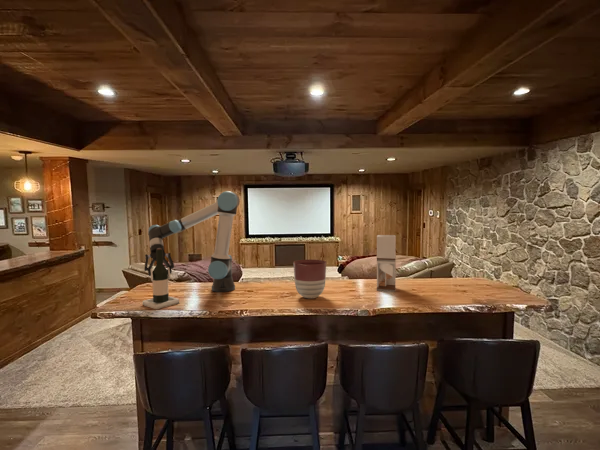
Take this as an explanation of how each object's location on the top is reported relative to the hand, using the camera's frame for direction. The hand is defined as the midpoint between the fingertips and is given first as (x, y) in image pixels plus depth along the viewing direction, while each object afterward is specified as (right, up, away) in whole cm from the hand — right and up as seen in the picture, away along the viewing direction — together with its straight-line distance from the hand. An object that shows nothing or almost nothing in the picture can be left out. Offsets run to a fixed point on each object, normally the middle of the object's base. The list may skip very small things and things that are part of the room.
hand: (161, 278), depth 185 cm
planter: (+83, -14, +15) cm, 86 cm away
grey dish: (-1, -15, +4) cm, 15 cm away
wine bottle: (-1, -13, +4) cm, 14 cm away
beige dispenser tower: (+134, -12, +32) cm, 138 cm away
